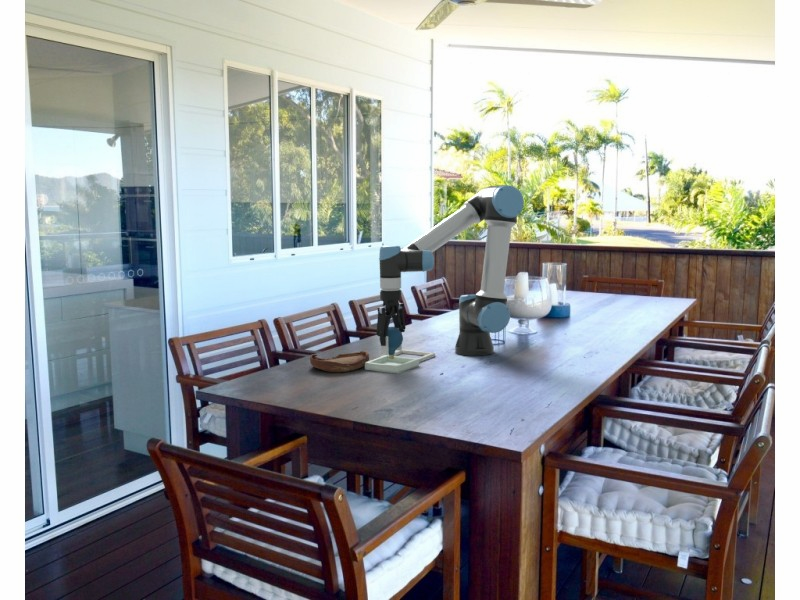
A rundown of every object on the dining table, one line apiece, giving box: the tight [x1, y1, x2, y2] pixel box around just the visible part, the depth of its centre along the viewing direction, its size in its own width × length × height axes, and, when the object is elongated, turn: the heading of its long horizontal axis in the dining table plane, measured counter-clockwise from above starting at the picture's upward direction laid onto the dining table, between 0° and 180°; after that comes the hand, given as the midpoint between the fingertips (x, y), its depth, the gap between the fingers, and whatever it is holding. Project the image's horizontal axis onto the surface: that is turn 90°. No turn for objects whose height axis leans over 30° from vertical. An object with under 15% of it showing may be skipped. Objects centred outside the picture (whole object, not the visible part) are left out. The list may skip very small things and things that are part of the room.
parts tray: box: [364, 355, 420, 375], centre depth 250 cm, size 14×14×2 cm
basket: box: [309, 350, 370, 373], centre depth 253 cm, size 22×20×5 cm
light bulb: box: [378, 326, 404, 360], centre depth 249 cm, size 8×8×12 cm
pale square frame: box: [378, 349, 436, 363], centre depth 266 cm, size 16×16×1 cm
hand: (391, 352), depth 249 cm, fingers closed on light bulb, 8 cm apart
